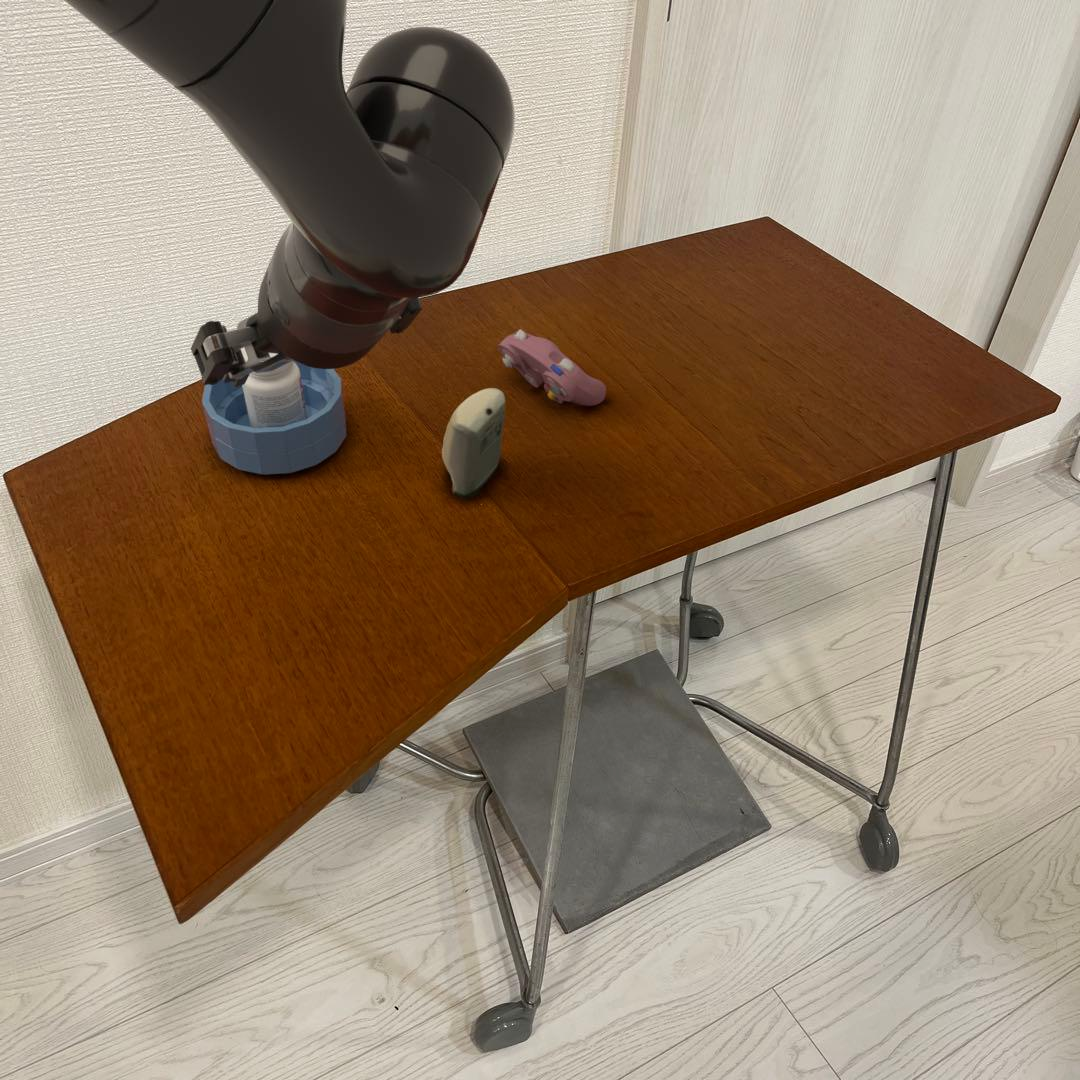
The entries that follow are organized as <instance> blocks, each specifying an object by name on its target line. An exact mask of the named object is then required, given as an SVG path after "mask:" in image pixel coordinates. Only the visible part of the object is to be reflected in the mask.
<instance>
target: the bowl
mask: <svg viewBox="0 0 1080 1080" xmlns="http://www.w3.org/2000/svg"><path fill="white" fill-rule="evenodd" d="M294 363H296V365H297V366H298V368H299V370H300V375H301V381H302V387H303V394H304V401H305V406H306V413H307V419H306V420H302V421H299V422H296V423H292V424H289V425H286V426H283V427H266V428H253V427H251V425H250V420H249V416H248V411H247V406H246V402H245V397H244V392H243V387H242V385H241V386H237V387H234V386H233V384H232V382H229V383H224V382H223V379H222V380H221V381H219V382H218V383H217V384H214V385H210V384H209V385H204V388H203V393H202V399H201V404H202V407H203V408H202V409H203V411H204V416H205V420H206V424H207V428H208V432H209V436H210V440H211V443H212V446H213V448H214V450H215V451H216V453H217V455H218V457H219V458H220V460H222V461H223V462H225V463H227V464H228V465H230V466H231V467H233V468H235V469H236V470H239V471H242V472H248V473H252V474H257V475H264V476H265V475H281V474H291V473H295V472H298V471H301V470H305V469H309V468H311V467H315V466H316V465H318V464H320V463H322V462H323V461H325V460H326V459H328V458H329V457H331V456H332V455H333V454H335V453H336V452H337V451H338V449H339V448H340V447H341V445H342V444H343V442H344V440H345V439H346V437H347V415H346V414H347V413H346V406H345V398H344V390H343V384H342V378H341V376H340V375H339V374H338V373H337V372H336V369H318V368H313V367H309V366H306V365H303V364H301V363H298V362H296V361H294Z"/></svg>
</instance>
